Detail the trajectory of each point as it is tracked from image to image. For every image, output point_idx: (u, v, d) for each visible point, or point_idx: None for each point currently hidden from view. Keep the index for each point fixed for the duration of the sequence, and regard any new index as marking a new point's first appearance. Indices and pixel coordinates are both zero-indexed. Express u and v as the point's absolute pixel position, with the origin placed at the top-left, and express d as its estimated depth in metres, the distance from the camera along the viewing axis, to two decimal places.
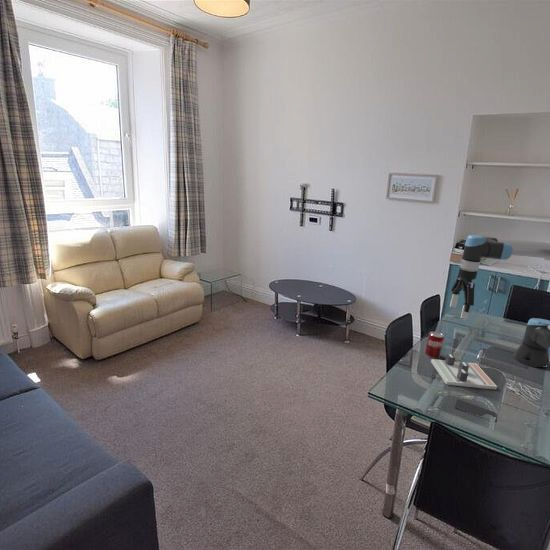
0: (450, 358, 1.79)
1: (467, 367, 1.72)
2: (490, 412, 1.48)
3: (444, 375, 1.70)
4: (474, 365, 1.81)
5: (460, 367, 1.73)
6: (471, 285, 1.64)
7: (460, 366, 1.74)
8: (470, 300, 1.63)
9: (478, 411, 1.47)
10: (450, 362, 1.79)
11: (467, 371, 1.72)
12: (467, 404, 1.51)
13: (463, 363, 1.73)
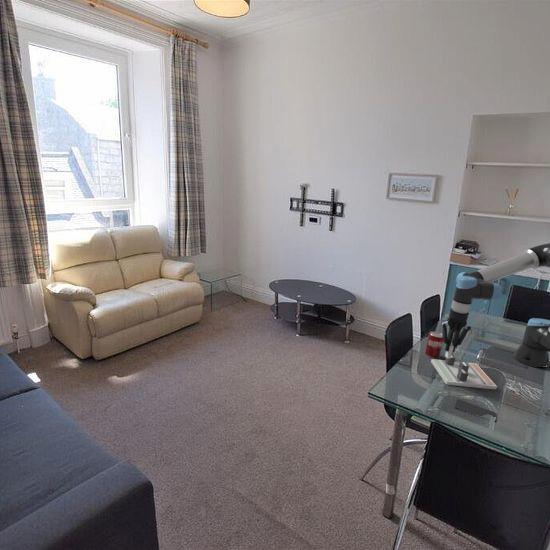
0: None
1: (467, 367, 1.72)
2: (490, 412, 1.48)
3: (444, 375, 1.70)
4: (474, 365, 1.81)
5: (460, 367, 1.73)
6: (442, 325, 1.68)
7: (460, 366, 1.74)
8: (443, 338, 1.70)
9: (478, 411, 1.47)
10: (450, 362, 1.79)
11: (467, 371, 1.72)
12: (467, 404, 1.51)
13: (463, 363, 1.73)
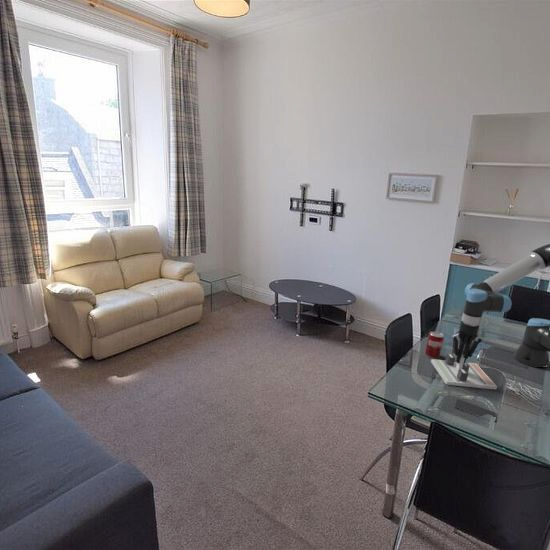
0: (450, 358, 1.79)
1: (467, 367, 1.72)
2: (490, 412, 1.48)
3: (444, 375, 1.70)
4: (474, 365, 1.81)
5: None
6: (452, 337, 1.70)
7: None
8: (454, 350, 1.72)
9: (478, 411, 1.47)
10: (450, 362, 1.79)
11: (467, 371, 1.72)
12: (467, 404, 1.51)
13: None
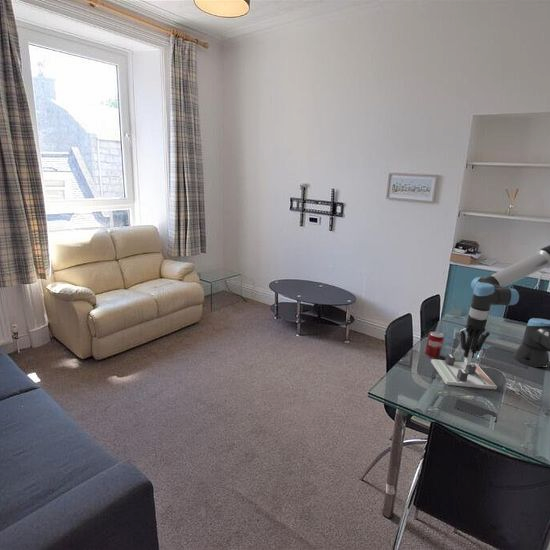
0: (450, 358, 1.79)
1: (474, 368, 1.72)
2: (490, 412, 1.47)
3: (444, 375, 1.70)
4: None
5: (467, 368, 1.73)
6: (460, 332, 1.69)
7: (467, 367, 1.73)
8: (461, 344, 1.71)
9: (478, 411, 1.47)
10: (450, 362, 1.79)
11: (474, 372, 1.72)
12: (467, 404, 1.51)
13: (470, 364, 1.73)
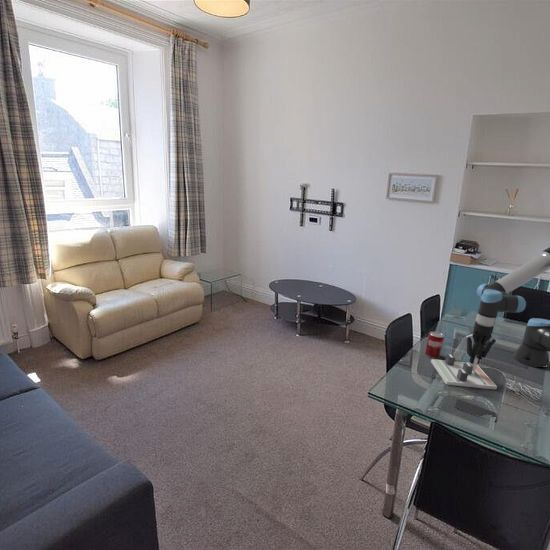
0: (450, 358, 1.79)
1: (471, 367, 1.72)
2: (490, 412, 1.47)
3: (444, 375, 1.70)
4: None
5: (464, 367, 1.73)
6: (466, 338, 1.69)
7: (464, 366, 1.73)
8: (467, 351, 1.71)
9: (478, 411, 1.47)
10: (450, 362, 1.79)
11: (471, 371, 1.72)
12: (467, 404, 1.51)
13: (467, 363, 1.73)
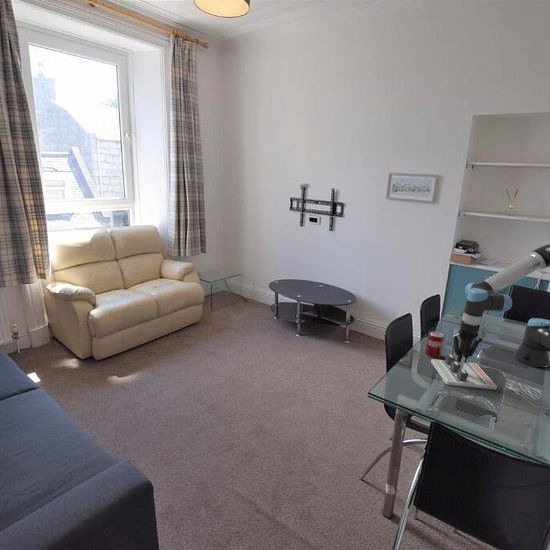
0: (450, 358, 1.79)
1: (459, 366, 1.72)
2: (490, 412, 1.47)
3: (444, 375, 1.70)
4: (474, 365, 1.81)
5: (452, 366, 1.74)
6: (453, 337, 1.70)
7: (452, 365, 1.74)
8: (455, 350, 1.71)
9: (478, 411, 1.47)
10: (450, 362, 1.79)
11: None
12: (467, 404, 1.51)
13: (455, 362, 1.73)
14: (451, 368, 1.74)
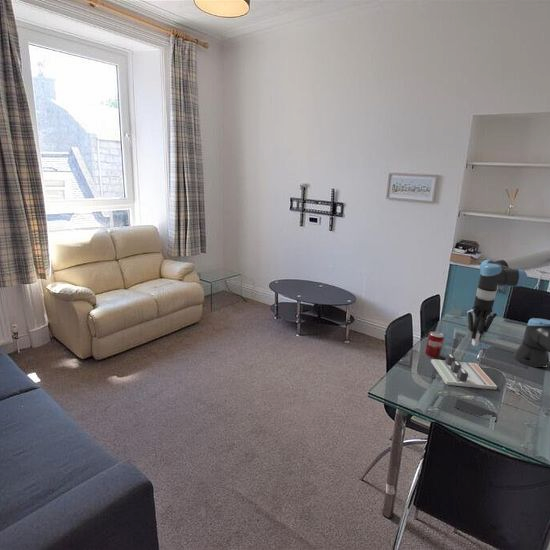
0: (450, 358, 1.79)
1: (459, 366, 1.72)
2: (490, 412, 1.47)
3: (444, 375, 1.70)
4: (474, 365, 1.81)
5: (452, 366, 1.74)
6: (467, 313, 1.69)
7: (452, 365, 1.74)
8: (469, 326, 1.71)
9: (478, 411, 1.47)
10: (450, 362, 1.79)
11: None
12: (467, 404, 1.51)
13: (455, 362, 1.73)
14: (452, 368, 1.74)
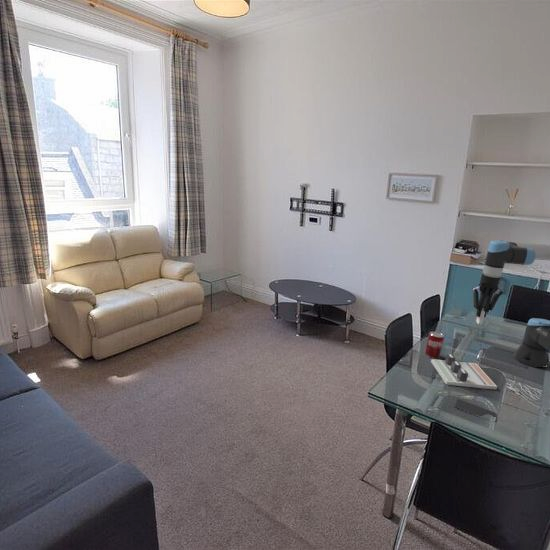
0: (450, 358, 1.79)
1: (459, 366, 1.72)
2: (490, 412, 1.47)
3: (444, 375, 1.70)
4: (474, 365, 1.81)
5: (452, 366, 1.74)
6: (473, 290, 1.69)
7: (452, 365, 1.74)
8: (474, 304, 1.71)
9: (478, 411, 1.47)
10: (450, 362, 1.79)
11: None
12: (467, 404, 1.51)
13: (455, 362, 1.73)
14: (452, 368, 1.74)
